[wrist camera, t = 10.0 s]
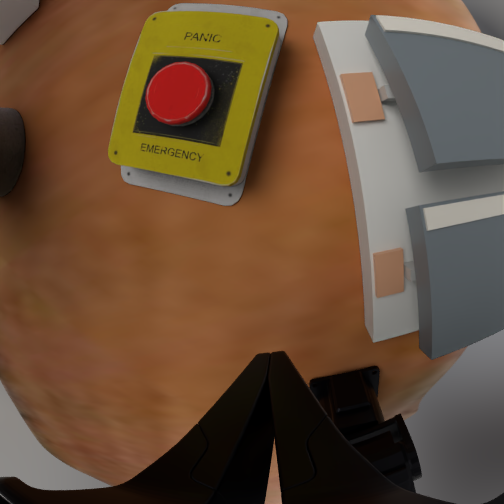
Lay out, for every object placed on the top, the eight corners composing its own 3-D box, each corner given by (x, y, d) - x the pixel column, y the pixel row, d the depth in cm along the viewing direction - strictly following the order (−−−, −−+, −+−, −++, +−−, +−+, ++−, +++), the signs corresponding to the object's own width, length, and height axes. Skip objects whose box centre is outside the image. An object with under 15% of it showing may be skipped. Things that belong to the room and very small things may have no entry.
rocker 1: (539, 162, 10) (557, 157, 8) (419, 172, 12) (438, 162, 10) (494, 52, 10) (506, 40, 8) (364, 34, 12) (371, 12, 9)
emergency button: (89, 187, 15) (151, -19, 10) (122, 181, 19) (172, 6, 14) (229, 220, 15) (293, -13, 10) (239, 207, 19) (290, 18, 14)
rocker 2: (529, 301, 13) (545, 306, 11) (419, 348, 15) (433, 361, 13) (521, 189, 13) (538, 186, 11) (405, 208, 15) (420, 205, 13)
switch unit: (497, 283, 18) (520, 300, 15) (364, 324, 21) (378, 353, 17) (472, 46, 12) (496, 35, 9) (313, 37, 14) (320, 12, 11)
